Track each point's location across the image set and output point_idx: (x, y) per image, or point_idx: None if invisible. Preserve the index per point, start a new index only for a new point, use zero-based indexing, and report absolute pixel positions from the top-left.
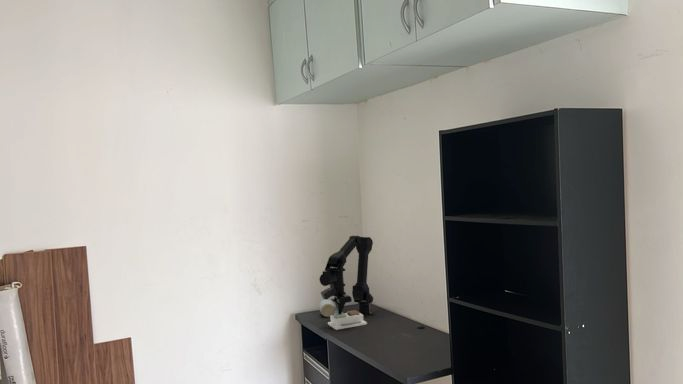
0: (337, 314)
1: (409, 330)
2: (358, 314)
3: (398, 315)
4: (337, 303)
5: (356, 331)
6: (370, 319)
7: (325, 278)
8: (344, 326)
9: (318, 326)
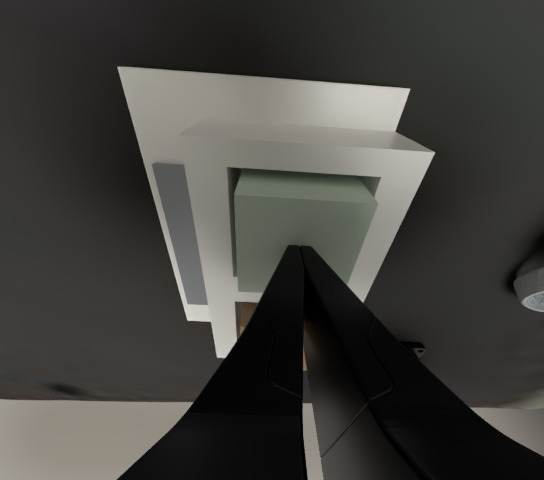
0: (289, 222)
1: (29, 366)
2: None
3: None
4: (146, 466)
5: (34, 209)
6: None
7: None
8: (150, 179)
9: None
